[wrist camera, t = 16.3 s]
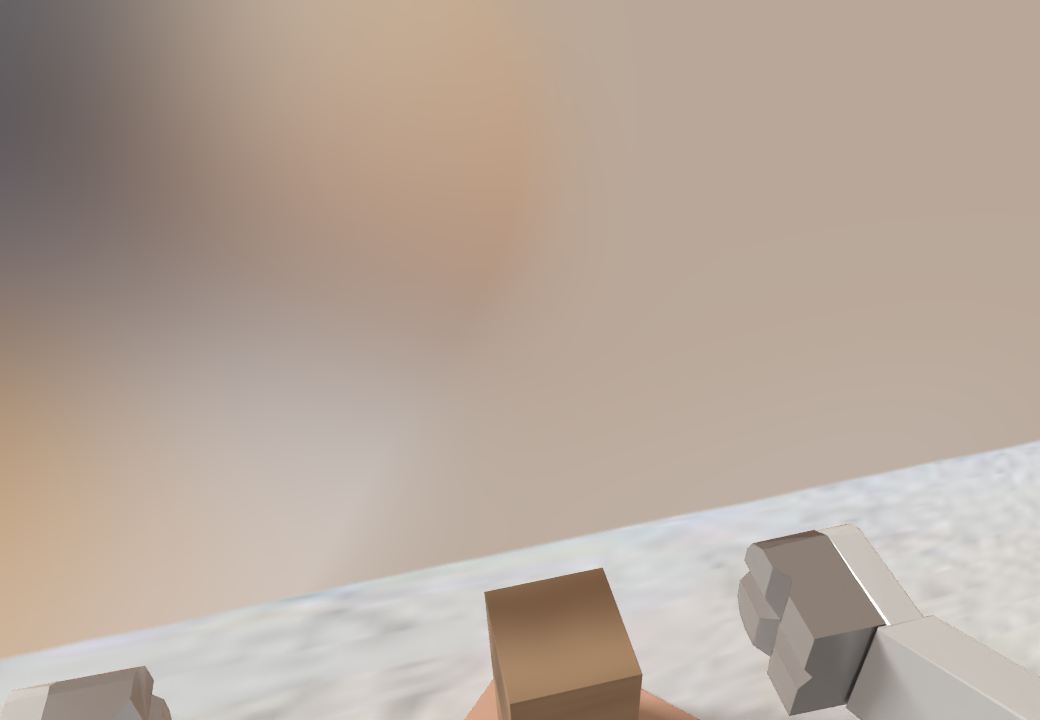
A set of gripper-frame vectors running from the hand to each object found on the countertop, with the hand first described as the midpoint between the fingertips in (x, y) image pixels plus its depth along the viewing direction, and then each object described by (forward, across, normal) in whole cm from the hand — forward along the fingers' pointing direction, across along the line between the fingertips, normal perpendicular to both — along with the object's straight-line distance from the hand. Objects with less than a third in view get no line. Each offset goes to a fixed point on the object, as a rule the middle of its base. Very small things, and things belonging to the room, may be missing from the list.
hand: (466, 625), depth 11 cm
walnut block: (+12, -5, +28) cm, 31 cm away
